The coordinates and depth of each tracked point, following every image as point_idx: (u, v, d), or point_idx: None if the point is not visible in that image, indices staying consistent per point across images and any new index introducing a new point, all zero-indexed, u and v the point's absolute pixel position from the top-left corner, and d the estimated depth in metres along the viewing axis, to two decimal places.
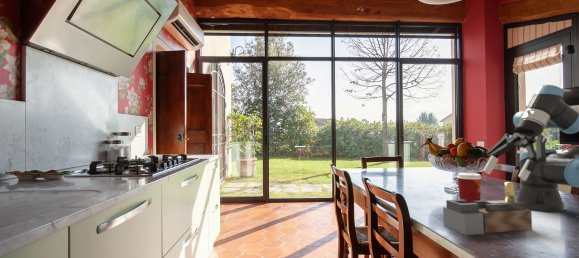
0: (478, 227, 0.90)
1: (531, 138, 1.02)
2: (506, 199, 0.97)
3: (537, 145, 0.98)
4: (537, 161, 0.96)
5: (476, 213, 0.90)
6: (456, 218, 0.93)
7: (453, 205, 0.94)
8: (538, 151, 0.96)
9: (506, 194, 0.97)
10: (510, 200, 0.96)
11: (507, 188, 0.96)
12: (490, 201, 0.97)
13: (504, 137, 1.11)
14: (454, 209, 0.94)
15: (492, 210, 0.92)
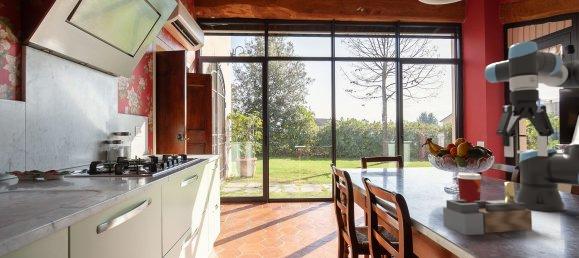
0: (478, 227, 0.90)
1: (536, 109, 0.98)
2: (506, 199, 0.97)
3: (546, 118, 0.98)
4: None
5: (476, 213, 0.90)
6: (456, 218, 0.93)
7: (453, 205, 0.94)
8: (549, 125, 0.98)
9: (506, 194, 0.97)
10: (510, 200, 0.96)
11: (507, 188, 0.96)
12: (490, 201, 0.97)
13: (510, 110, 0.97)
14: (454, 209, 0.94)
15: (492, 210, 0.92)
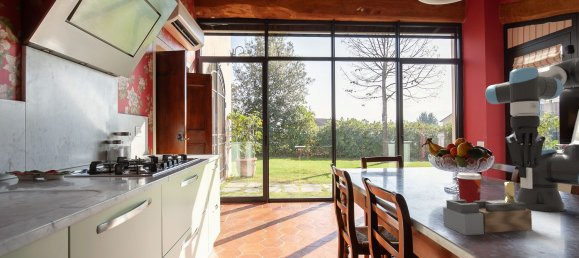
0: (478, 227, 0.90)
1: (536, 135, 0.98)
2: (506, 199, 0.97)
3: (539, 149, 0.97)
4: None
5: (476, 213, 0.90)
6: (456, 218, 0.93)
7: (453, 205, 0.94)
8: (538, 156, 0.97)
9: (506, 194, 0.97)
10: (510, 200, 0.96)
11: (507, 188, 0.96)
12: (490, 201, 0.97)
13: (515, 141, 0.96)
14: (454, 209, 0.94)
15: (492, 210, 0.92)
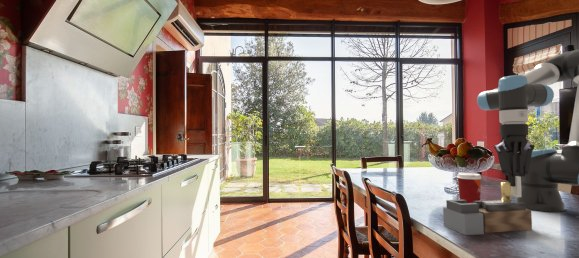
0: (478, 227, 0.90)
1: (525, 143, 0.97)
2: (502, 199, 0.96)
3: (528, 157, 0.97)
4: None
5: (476, 213, 0.90)
6: (456, 218, 0.93)
7: (453, 205, 0.94)
8: (527, 165, 0.97)
9: (502, 194, 0.96)
10: (506, 200, 0.96)
11: (503, 188, 0.96)
12: (486, 201, 0.97)
13: (503, 149, 0.96)
14: (454, 209, 0.94)
15: (492, 210, 0.92)
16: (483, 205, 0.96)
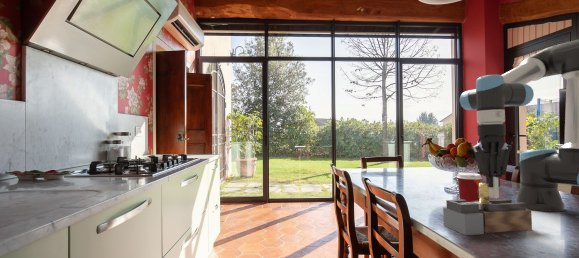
0: (478, 227, 0.90)
1: (502, 144, 0.96)
2: (480, 200, 0.95)
3: (506, 157, 0.96)
4: None
5: (476, 213, 0.90)
6: (456, 218, 0.93)
7: (453, 205, 0.94)
8: (505, 165, 0.96)
9: (480, 195, 0.95)
10: (484, 201, 0.94)
11: (481, 189, 0.95)
12: (464, 202, 0.96)
13: (480, 150, 0.95)
14: (454, 209, 0.94)
15: (492, 210, 0.92)
16: None
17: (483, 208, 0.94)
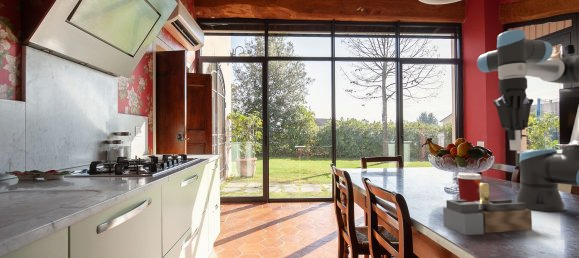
0: (478, 227, 0.90)
1: (524, 98, 0.98)
2: (481, 200, 0.95)
3: (527, 111, 0.98)
4: None
5: (476, 213, 0.90)
6: (456, 218, 0.93)
7: (453, 205, 0.94)
8: (526, 118, 0.98)
9: (481, 195, 0.95)
10: (485, 201, 0.94)
11: (482, 189, 0.95)
12: (465, 202, 0.96)
13: (503, 103, 0.97)
14: (454, 209, 0.94)
15: (492, 210, 0.92)
16: None
17: (484, 208, 0.94)
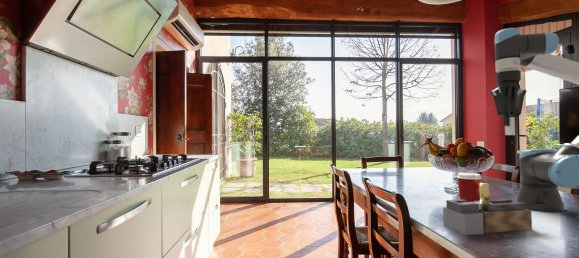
0: (478, 227, 0.90)
1: (518, 88, 1.11)
2: (481, 200, 0.95)
3: (521, 100, 1.11)
4: None
5: (476, 213, 0.90)
6: (456, 218, 0.93)
7: (453, 205, 0.94)
8: (520, 107, 1.11)
9: (481, 195, 0.95)
10: (485, 201, 0.94)
11: (482, 189, 0.95)
12: (465, 202, 0.96)
13: (499, 93, 1.09)
14: (454, 209, 0.94)
15: (492, 210, 0.92)
16: None
17: (484, 208, 0.94)
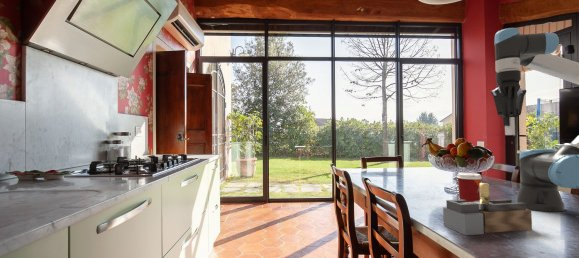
0: (478, 227, 0.90)
1: (518, 88, 1.11)
2: (481, 200, 0.95)
3: (521, 100, 1.11)
4: None
5: (476, 213, 0.90)
6: (456, 218, 0.93)
7: (453, 205, 0.94)
8: (520, 107, 1.11)
9: (481, 195, 0.95)
10: (485, 201, 0.94)
11: (482, 189, 0.95)
12: (465, 202, 0.96)
13: (499, 93, 1.09)
14: (454, 209, 0.94)
15: (492, 210, 0.92)
16: None
17: (484, 208, 0.94)
